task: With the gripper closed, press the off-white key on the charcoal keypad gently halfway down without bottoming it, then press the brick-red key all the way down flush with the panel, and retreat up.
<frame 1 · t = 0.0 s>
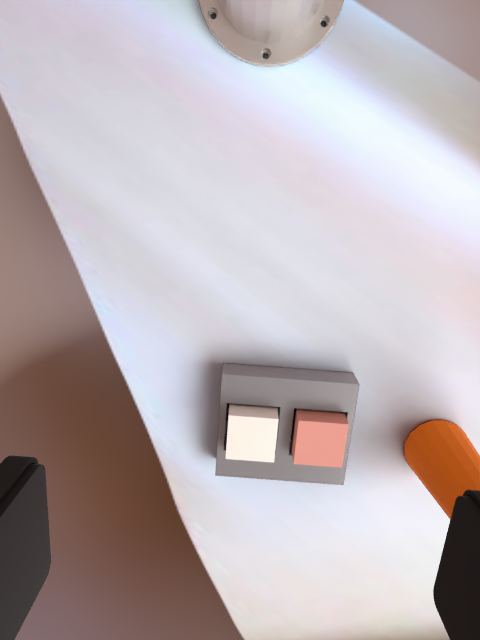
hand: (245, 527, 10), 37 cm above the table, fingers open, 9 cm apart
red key: (319, 438, 47), point 4 cm above the table, slide at 0.0 cm
key panel: (282, 417, 50), on the table
spray bottle: (436, 459, 52), on the table
white key: (251, 433, 47), point 4 cm above the table, slide at 0.0 cm
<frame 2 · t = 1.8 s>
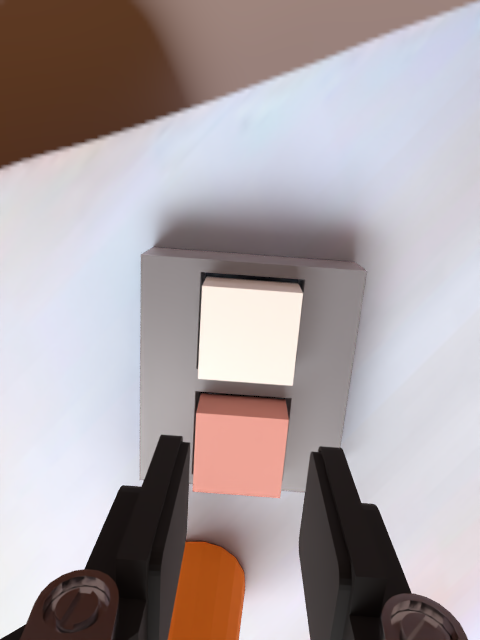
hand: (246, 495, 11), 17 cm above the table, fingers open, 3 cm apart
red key: (239, 444, 26), point 4 cm above the table, slide at 0.0 cm
key panel: (245, 363, 29), on the table
spray bottle: (175, 579, 34), on the table
white key: (248, 330, 24), point 4 cm above the table, slide at 0.0 cm
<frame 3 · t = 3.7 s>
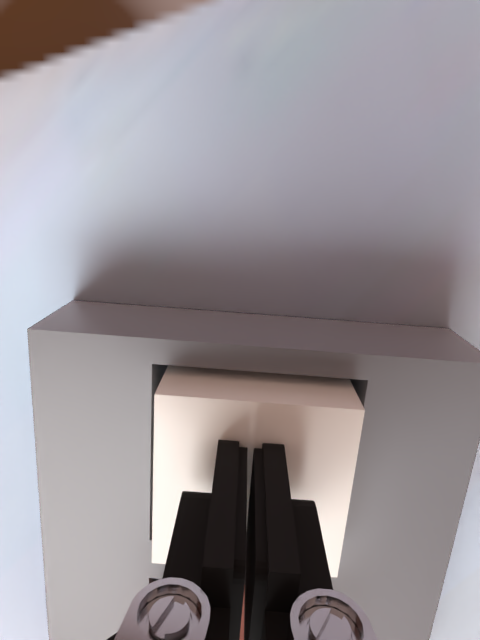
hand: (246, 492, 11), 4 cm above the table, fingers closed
key panel: (244, 499, 16), on the table
white key: (251, 463, 13), point 3 cm above the table, slide at 0.9 cm, touching gripper
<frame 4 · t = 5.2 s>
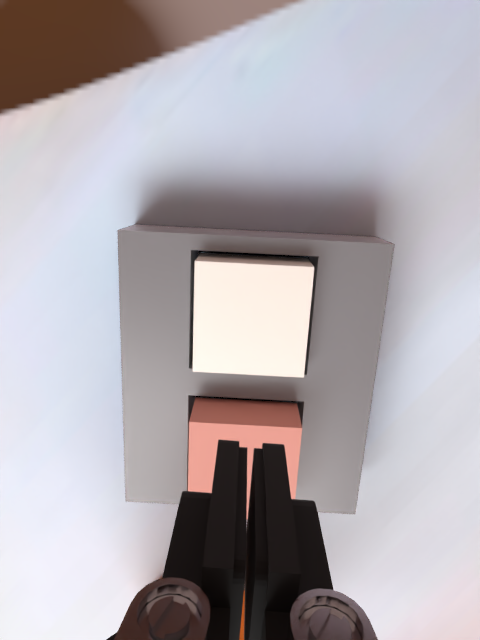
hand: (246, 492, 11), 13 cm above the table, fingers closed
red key: (243, 458, 22), point 4 cm above the table, slide at 0.0 cm
key panel: (247, 361, 24), on the table
white key: (251, 313, 21), point 3 cm above the table, slide at 0.9 cm
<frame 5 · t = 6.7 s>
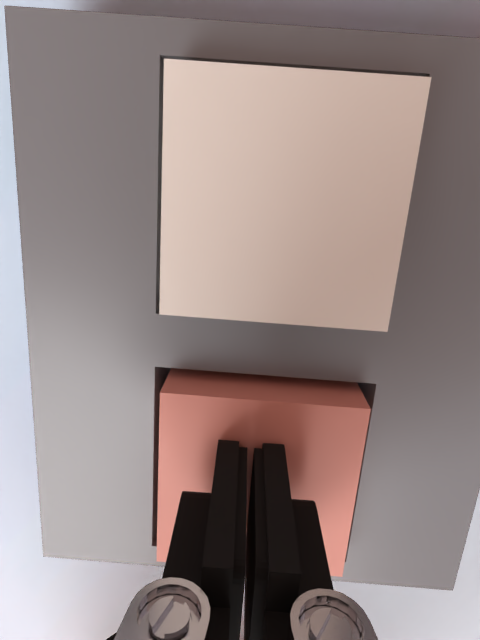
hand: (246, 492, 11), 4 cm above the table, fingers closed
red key: (256, 462, 13), point 3 cm above the table, slide at 1.2 cm, touching gripper
key panel: (265, 315, 14), on the table
white key: (281, 203, 10), point 3 cm above the table, slide at 0.9 cm
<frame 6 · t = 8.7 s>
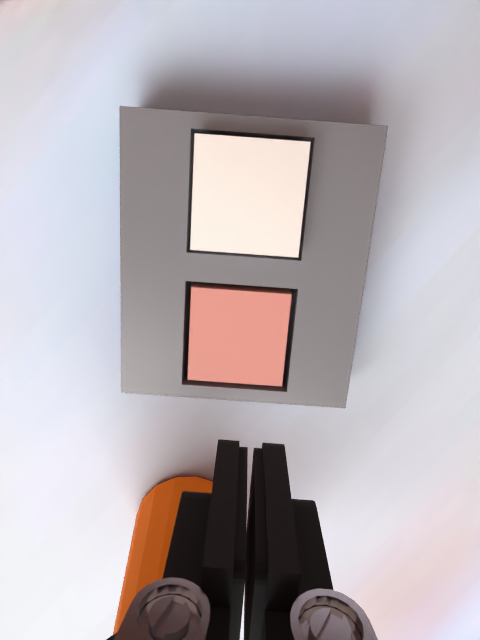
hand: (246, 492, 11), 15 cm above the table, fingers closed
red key: (238, 331, 24), point 2 cm above the table, slide at 2.0 cm
key panel: (243, 261, 25), on the table
spray bottle: (164, 522, 30), on the table
white key: (248, 197, 21), point 3 cm above the table, slide at 0.9 cm
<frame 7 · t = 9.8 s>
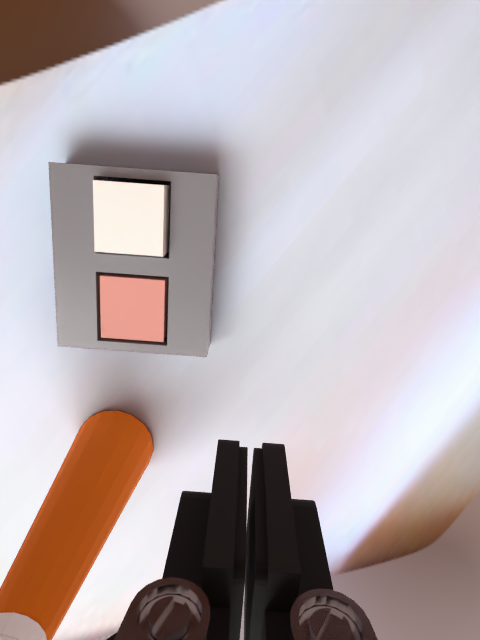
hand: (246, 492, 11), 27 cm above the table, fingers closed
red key: (135, 305, 36), point 2 cm above the table, slide at 2.0 cm
key panel: (141, 259, 37), on the table
spray bottle: (98, 445, 42), on the table
white key: (132, 218, 33), point 3 cm above the table, slide at 0.9 cm
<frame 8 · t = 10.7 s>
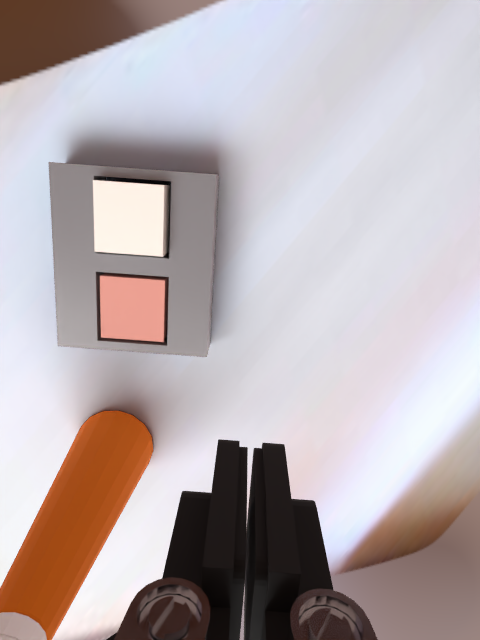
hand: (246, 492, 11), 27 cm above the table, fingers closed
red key: (136, 305, 36), point 2 cm above the table, slide at 2.0 cm
key panel: (141, 259, 37), on the table
spray bottle: (98, 445, 42), on the table
white key: (132, 218, 33), point 3 cm above the table, slide at 0.9 cm
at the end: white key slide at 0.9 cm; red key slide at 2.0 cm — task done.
